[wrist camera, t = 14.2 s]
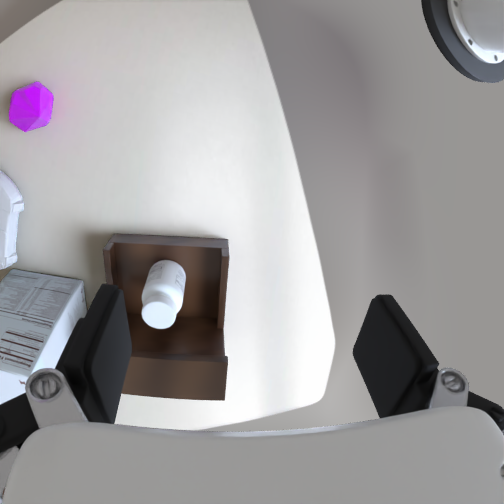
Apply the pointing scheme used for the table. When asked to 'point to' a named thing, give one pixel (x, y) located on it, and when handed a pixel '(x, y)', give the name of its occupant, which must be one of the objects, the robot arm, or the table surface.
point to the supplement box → (35, 325)
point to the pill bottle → (163, 294)
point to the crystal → (31, 107)
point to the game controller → (8, 220)
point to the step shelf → (187, 319)
